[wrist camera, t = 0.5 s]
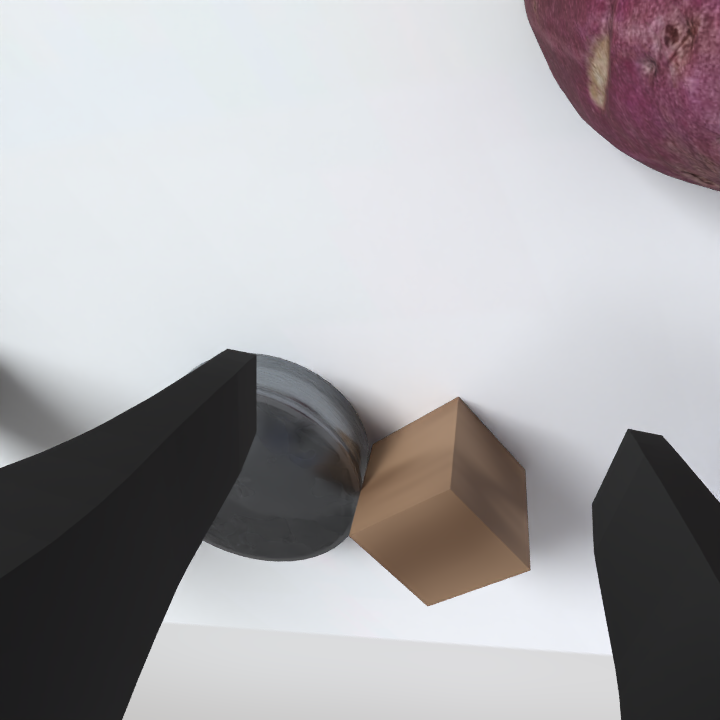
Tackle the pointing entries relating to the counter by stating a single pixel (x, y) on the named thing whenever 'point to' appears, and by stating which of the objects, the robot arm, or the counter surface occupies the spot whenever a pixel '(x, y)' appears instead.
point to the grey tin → (294, 470)
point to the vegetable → (641, 76)
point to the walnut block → (444, 506)
